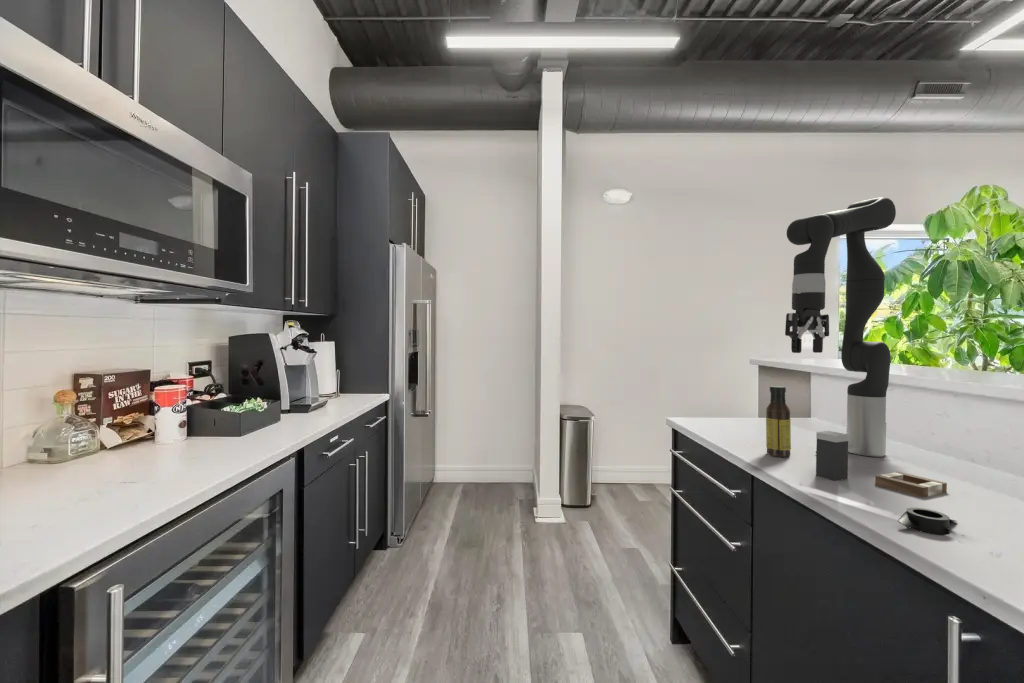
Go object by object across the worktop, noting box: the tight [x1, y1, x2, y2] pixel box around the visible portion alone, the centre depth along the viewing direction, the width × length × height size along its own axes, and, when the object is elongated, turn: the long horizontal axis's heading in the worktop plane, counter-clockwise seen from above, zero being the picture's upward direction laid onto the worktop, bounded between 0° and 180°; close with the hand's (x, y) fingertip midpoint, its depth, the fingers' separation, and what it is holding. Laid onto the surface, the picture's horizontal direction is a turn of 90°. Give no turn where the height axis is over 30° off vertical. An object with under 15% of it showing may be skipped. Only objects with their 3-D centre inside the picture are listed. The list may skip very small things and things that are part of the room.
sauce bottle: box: [765, 385, 792, 458], centre depth 136 cm, size 6×6×20 cm
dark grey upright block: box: [815, 430, 849, 482], centre depth 111 cm, size 5×5×11 cm
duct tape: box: [897, 507, 958, 536], centre depth 84 cm, size 8×10×3 cm
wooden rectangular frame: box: [874, 471, 948, 498], centre depth 104 cm, size 9×9×3 cm
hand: (807, 352), depth 125 cm, fingers open, 8 cm apart
